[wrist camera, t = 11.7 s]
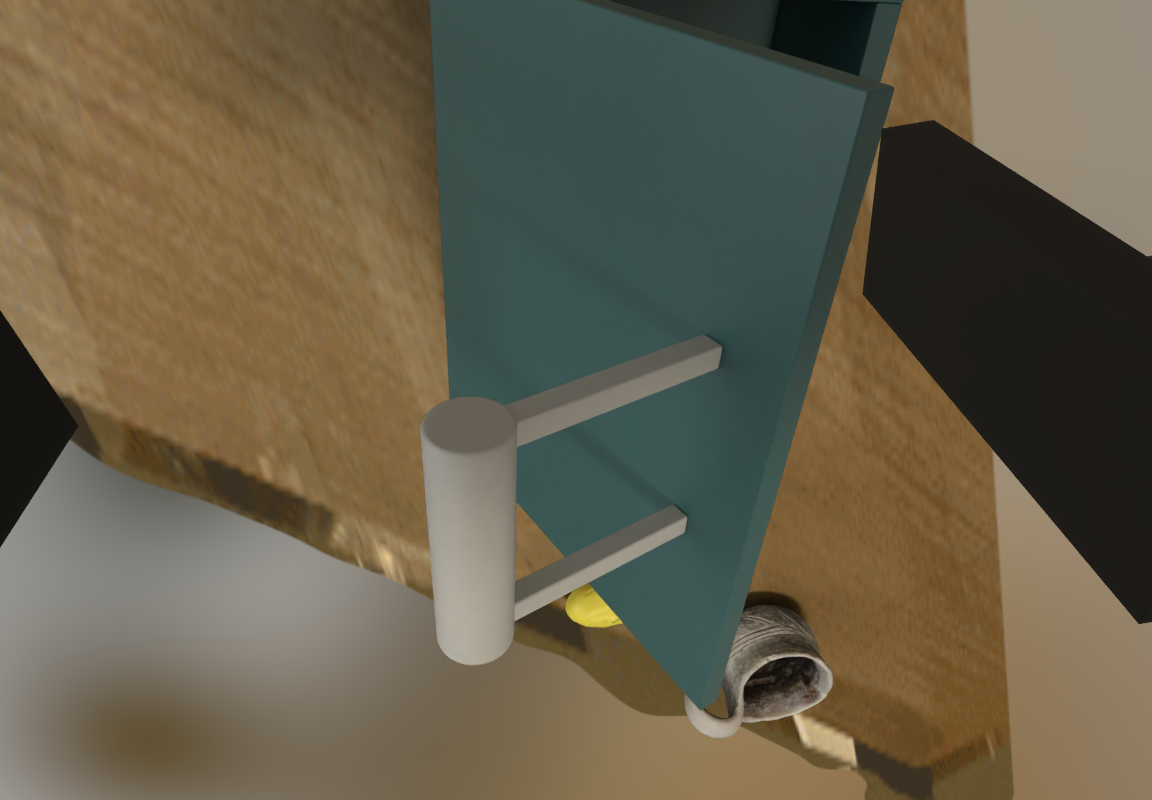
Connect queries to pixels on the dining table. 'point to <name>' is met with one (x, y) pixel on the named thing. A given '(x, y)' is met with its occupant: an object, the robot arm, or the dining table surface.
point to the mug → (767, 672)
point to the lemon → (590, 608)
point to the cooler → (796, 27)
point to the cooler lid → (626, 310)
